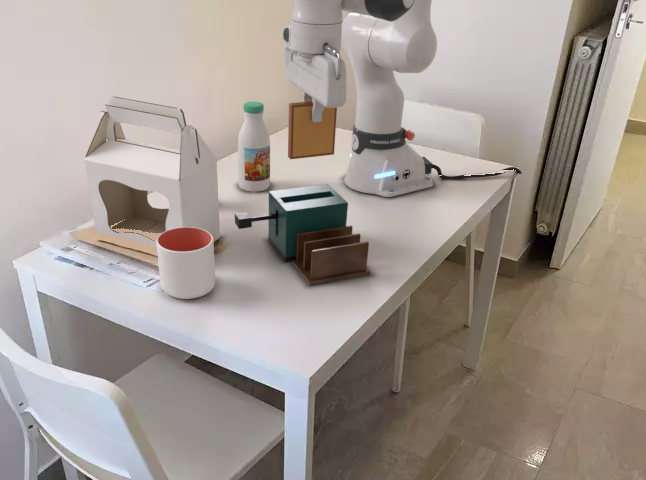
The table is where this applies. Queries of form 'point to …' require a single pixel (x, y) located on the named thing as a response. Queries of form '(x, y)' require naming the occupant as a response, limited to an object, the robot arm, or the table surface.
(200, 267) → the cup
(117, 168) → the gable box
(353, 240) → the toast rack
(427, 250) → the table surface
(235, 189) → the table surface
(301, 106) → the toast
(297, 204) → the toaster
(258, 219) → the carriage
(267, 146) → the milk bottle
